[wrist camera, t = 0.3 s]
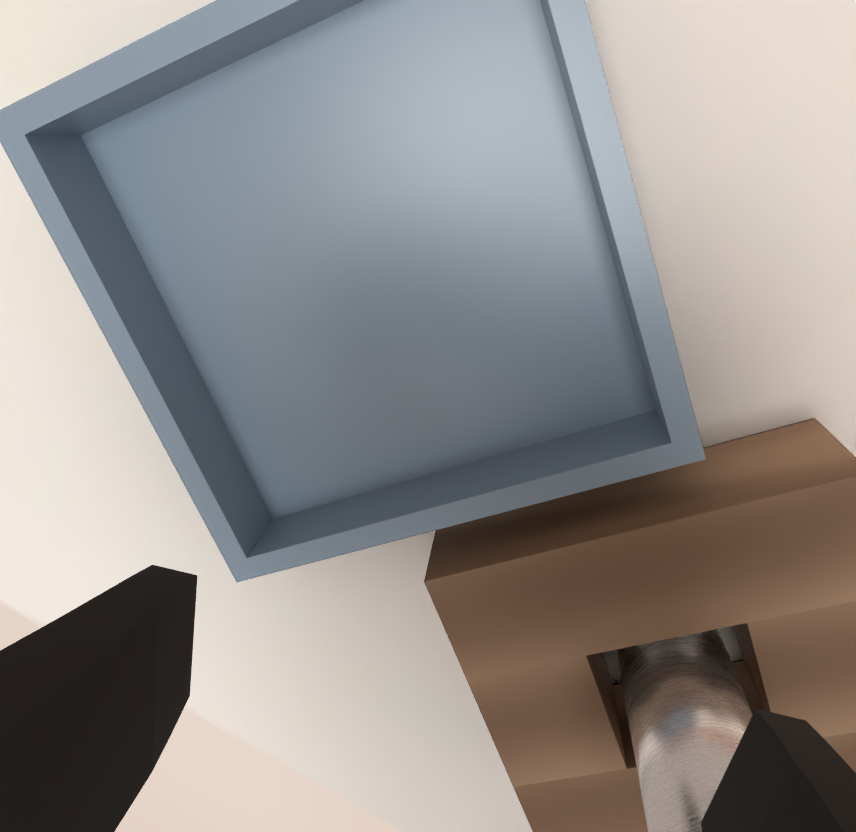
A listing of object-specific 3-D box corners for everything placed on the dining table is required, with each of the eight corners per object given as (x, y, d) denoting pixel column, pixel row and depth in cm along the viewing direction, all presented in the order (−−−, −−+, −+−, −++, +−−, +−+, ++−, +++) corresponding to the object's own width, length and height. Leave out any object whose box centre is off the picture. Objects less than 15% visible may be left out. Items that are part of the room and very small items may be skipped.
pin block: (876, 722, 20) (933, 815, 17) (544, 775, 22) (547, 865, 20) (815, 418, 17) (871, 472, 14) (438, 519, 19) (423, 581, 17)
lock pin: (743, 659, 20) (894, 1017, 12) (612, 684, 21) (669, 1031, 13) (714, 551, 19) (859, 864, 11) (577, 583, 20) (614, 893, 12)
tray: (681, 417, 17) (706, 459, 15) (269, 532, 20) (236, 582, 18) (538, -114, 14) (541, -164, 11) (61, 120, 17) (-14, 116, 14)
